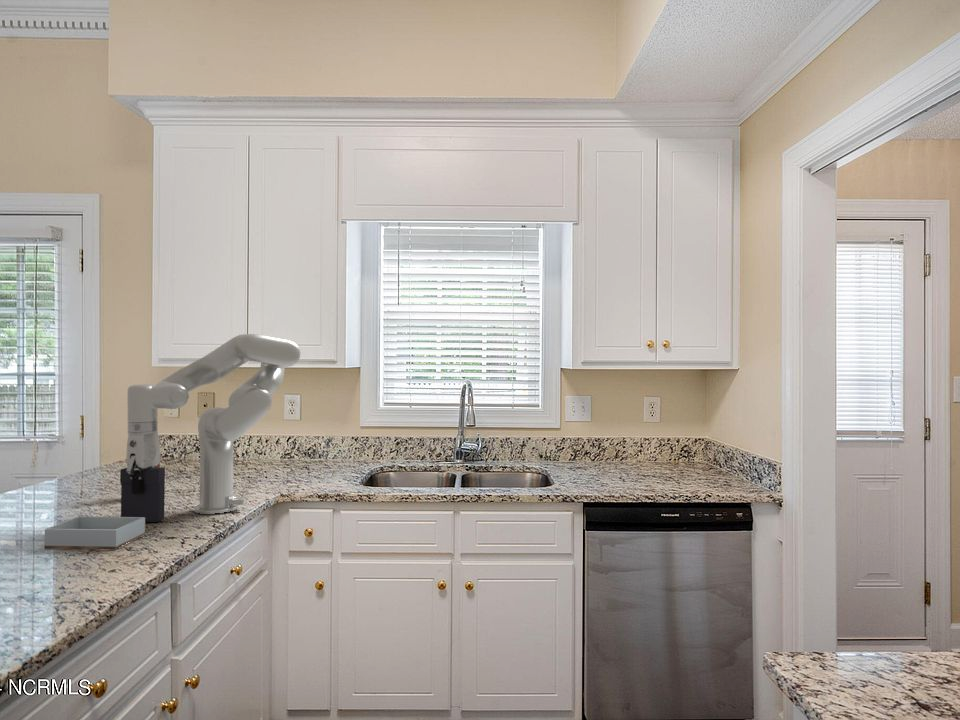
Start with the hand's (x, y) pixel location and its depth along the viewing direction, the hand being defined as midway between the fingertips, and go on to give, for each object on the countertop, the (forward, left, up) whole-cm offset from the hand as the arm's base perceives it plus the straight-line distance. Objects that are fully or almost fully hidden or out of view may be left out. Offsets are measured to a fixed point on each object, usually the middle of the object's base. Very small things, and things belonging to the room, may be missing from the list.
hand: (143, 490), depth 177 cm
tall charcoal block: (0, 0, -9) cm, 9 cm away
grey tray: (0, +20, -9) cm, 22 cm away
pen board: (0, +20, -9) cm, 22 cm away
